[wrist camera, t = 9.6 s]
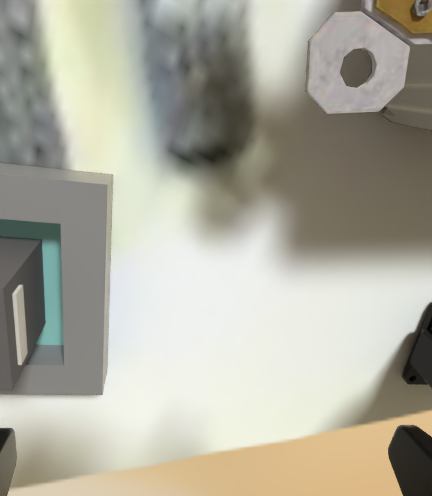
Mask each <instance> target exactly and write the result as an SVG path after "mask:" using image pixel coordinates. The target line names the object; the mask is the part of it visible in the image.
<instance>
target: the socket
mask: <svg viewBox="0 0 432 496" xmlns="http://www.w3.org/2000/svg"><path fill="white" fill-rule="evenodd" d="M112 194H113V175H112V174H102V173H92V172H83V171H73V170H63V169H53V168H44V167H34V166H24V165H15V164H5V163H0V236H4V237H17V238H31V239H42V252H43V274H44V297H45V320H46V324H45V326H44V328H43V330H42V332H41V334H40V336H39V338H38V340H37V342H36V344H35V346H34V348H33V350H32V352H31V354H30V356H29V358H28V360H27V362H26V364H25V366H24V368H23V370H22V372H21V374H20V376H19V378H18V381H17V383H16V385H15V387H14V389H13V391H0V394H44V395H102V394H103V389H104V384H105V379H106V374H107V362H108V328H109V294H110V261H111V227H112Z"/></svg>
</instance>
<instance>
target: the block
mask: <svg viewBox="0 0 432 496" xmlns="http://www.w3.org/2000/svg"><path fill="white" fill-rule="evenodd" d="M45 324H46V320H45V297H44V274H43V252H42V239H31V238H17V237H4V236H0V391H13V389H14V387H15V385H16V383H17V381H18V378H19V376H20V374H21V372H22V370H23V368H24V366H25V364H26V362H27V360H28V358H29V356H30V354H31V352H32V350H33V348H34V346H35V344H36V342H37V340H38V338H39V336H40V334H41V332H42V330H43V328H44V326H45Z"/></svg>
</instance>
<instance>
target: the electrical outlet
mask: <svg viewBox="0 0 432 496" xmlns="http://www.w3.org/2000/svg"><path fill="white" fill-rule="evenodd" d="M353 49H362V50H366V51H367V52H368V54H369V56H370V57H371V59H372V73H371V74H370V76H369V77H368V79H367V81H366V82H365V83H363V84H362V85H360V86H359V87H357V88H354V87H349V86H346V84H345V82H344V80H343V78H342V76H341V74H340V70H341V66H342V63H343V59H344V57H345V56H346V55H347V54H348V53H349V52H351V51H352V50H353ZM305 91H306V93H307V94H308V95H309V96H310V97H311V98H312V99H313V100H314V101H315V103H316V104H317V105H318V106H319V107H320V108H321V109H322V110H323V112H324V113H326V114H336V113H358V112H379V111H380V110H381V109H382V108H383V107H384V106H385V107H386V108H387V109H386V110H385V112H384V113H383V116H384V117H386V118H387V119H388V120H389V121H390V122H394V123H398V124H403V125H408V126H412V127H417V128H422V129H427V130H431V131H432V0H362V1H361V11H353V12H335V13H333V14H332V15H331V16H330V17H329V18H328V20H327V21H326V22H325V23H324V24H323V25H322V26H321V27H320V29H319V30H318V31H317V32H316V33H315V34H314V35H313V36H312V38H311V39H310V40H309V41H308V52H307V70H306V88H305Z"/></svg>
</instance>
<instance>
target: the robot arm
mask: <svg viewBox="0 0 432 496" xmlns="http://www.w3.org/2000/svg"><path fill="white" fill-rule="evenodd" d="M402 377H403V379H404V380H405V382H406V383H408V384H426V385H429V386H430V387H431V388H432V305H431V306H430V309H429V311H428V314H427V316H426V319H425V321H424V324H423V326H422V328H421V331H420V333H419V336H418V338H417V341H416V343H415V346H414V348H413V350H412V353H411V355H410V358H409V360H408V363H407V365H406V367H405V370H404V372H403V375H402ZM388 455H389V459H390V462H391V465H392V467H393V470H394V473H395V475H396V478H397V481H398V483H399V486H400V488H401V491H402V494H403V496H432V437H431V436H430V435H428V434H427V433H426V432H424V431H423V430H421V429H420V428H419V427H417V426H414V425H400V426H398V427H397V429H396V431H395V433H394V436H393V438H392V441H391V443H390V445H389V448H388ZM16 460H17V452H16V441H15V432H14V430H13V429H12V428H0V496H7V494H8V491H9V487H10V484H11V480H12V477H13V473H14V470H15V466H16Z"/></svg>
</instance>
